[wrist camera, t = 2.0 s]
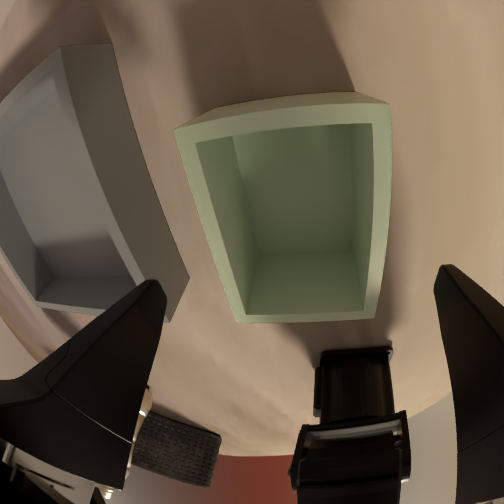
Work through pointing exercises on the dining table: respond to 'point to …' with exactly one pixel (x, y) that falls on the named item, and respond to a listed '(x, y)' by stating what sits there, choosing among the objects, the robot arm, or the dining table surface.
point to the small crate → (294, 203)
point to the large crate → (80, 189)
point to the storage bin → (176, 450)
